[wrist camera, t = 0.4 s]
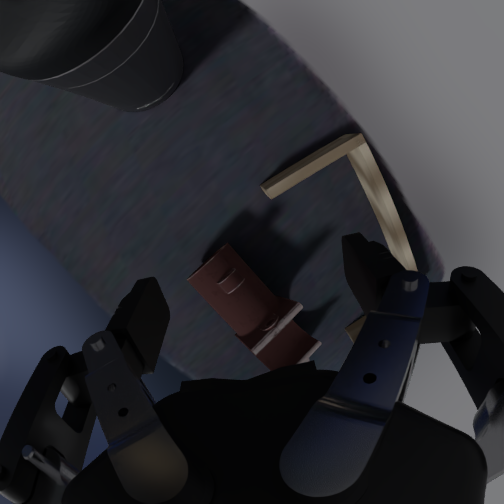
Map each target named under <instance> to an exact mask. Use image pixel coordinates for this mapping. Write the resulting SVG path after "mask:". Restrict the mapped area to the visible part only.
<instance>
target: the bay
mask: <svg viewBox="0 0 504 504" xmlns="http://www.w3.org/2000/svg"><path fill="white" fill-rule="evenodd" d="M345 154H347V156H348V158H349V160H350V162H351V164H352V166H353V168H354V170H355V172H356V174H357V176H358V178H359V180H360V182H361V184H362V186H363V188H364V191H365V193H366V195H367V197H368V199H369V201H370V204H371V206H372V208H373V210H374V213H375V215H376V217H377V219H378V222H379V224H380V226H381V229H382V231H383V234H384V236H385V239H386V241H387V244H388V246H389V249H390V251H391V254H392V255H393V256H394V257H395V258H396V259H397V260H398V261H399V262H400V263H401V264H402V265H403V266H404V267H405V269H406V270H414V271H418V270H417V267H416V264H415V261H414V258H413V255H412V252H411V249H410V246H409V243H408V240H407V237H406V234H405V231H404V229H403V226H402V223H401V221H400V218H399V215H398V213H397V210H396V208H395V205H394V203H393V200H392V198H391V196H390V193H389V191H388V188H387V186H386V184H385V182H384V179H383V177H382V175H381V173H380V170H379V168H378V166H377V164H376V162H375V160H374V157H373V155H372V153H371V151H370V149H369V147H368V145H367V143H366V141H365V139H364V137H363V135H362V133H358V134H345V135H343V136H341V137H340V138H338V139H336V140H334V141H333V142H331V143H329V144H327V145H326V146H324V147H322V148H320V149H319V150H317V151H315V152H314V153H312V154H310V155H309V156H307V157H305V158H304V159H302V160H300V161H299V162H297V163H295V164H294V165H292V166H290V167H289V168H287V169H285V170H284V171H282V172H280V173H279V174H277V175H275V176H274V177H272V178H271V179H269V180H267V181H266V182H264V183H263V184H261V185H260V186H261V188H262V189H263V191H264V193H265V194H266V195H267V196H268V197H269V198H270V199H273V198H275V197H276V196H278V195H279V194H281V193H283V192H284V191H286V190H287V189H289V188H291V187H292V186H294V185H296V184H297V183H299V182H300V181H302V180H304V179H305V178H307V177H309V176H310V175H312V174H314V173H315V172H317V171H318V170H320V169H322V168H323V167H325V166H327V165H328V164H330V163H332V162H333V161H335V160H337V159H338V158H340V157H342V156H344V155H345ZM366 318H367V317H366V315H365V316H363V317H362V318H360V319H359V320H357V321H356V322H354V323H353V324H351V325H350V326H348V327H346V328H345V330H346V332H347V334H348V335H349V337H350V338H351V340H352V341H353V343H354V342H355V340H356V338H357V336H358V334H359V332H360V330H361V328H362V326H363V324H364V322H365V320H366Z"/></svg>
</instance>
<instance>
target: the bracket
mask: <svg viewBox="0 0 504 504" xmlns="http://www.w3.org/2000/svg"><path fill="white" fill-rule="evenodd" d="M187 280H188V281H189V283H190V284H191V285H192V286H193V287H194V288H195V289H196V290H197V291H198V292H199V293H200V295H201V296H202V297H203V298H204V299H205V300H206V301H207V302H208V303H209V304H210V305H211V306H212V307H213V308H214V310H215V311H216V312H217V313H218V314H219V315H220V316H221V317H222V318H223V319H224V320H225V321H226V322H227V323H228V324H229V325H230V326H231V327H232V328H233V329H234V330H235V331H236V332H237V333H236V334H235V336H236V337H237V338H238V339H239V340H240V341H241V342H242V343H243V344H244V345H245V346H246V347H247V348H248V349H249V350H250V351H251V352H252V353H253V354H254V355H255V356H256V357H257V358H258V359H259V360H260V361H261V362H262V363H263V364H264V365H266V366H267V367H268V368H269V369H270V370H271V371H272V370H275V369H277V368H280V367H284V366H289V365H294V364H299V363H304V362H308V361H310V360H309V357H310V356H311V355H312V354H313V353H314V352H315V351H316V349H317V348H318V347H319V346H320V345H321V344H322V343H321V342H320V341H318V340H316V339H314V338H313V337H311V336H310V335H309V334H307V333H306V332H305V331H304V330H302V329H301V328H300V327H299V326H298V325H297V324H296V323H295V322H294V321H293V320H292V319H293V318H294V317H295V316H296V315H297V314H298V313H299V312H300V310H301V309H302V308H303V306H302V305H301V304H300V303H299V302H296V301H293V300H290V299H286V298H283V297H280V296H275V295H274V294H273V293H272V292H271V291H270V290H269V289H268V287H267V286H266V285H265V284H264V283H263V282H262V281H261V280H260V279H259V277H258V276H257V275H256V274H255V273H254V272H253V271H252V270H251V268H250V267H249V266H248V265H247V264H246V263H245V262H244V261H243V259H242V258H241V257H240V256H239V255H238V254H237V253H236V252H235V250H234V249H233V248H232V247H231V246H230V245H229V244H228V243H226V244H225V245H224V246H222V247H221V248H220V249H219V250H218V251H216V252H215V253H214V254H213V255H212V256H211V257H210V258H208V259H207V260H206V261H205V262H204V263H203V264H202V265H201V266H200V267H199V268H198V269H197V270H195V271H194V272H193V273H192V274H191V275H190V276H189V278H188V279H187Z"/></svg>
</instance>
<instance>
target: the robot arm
mask: <svg viewBox="0 0 504 504" xmlns="http://www.w3.org/2000/svg"><path fill="white" fill-rule="evenodd" d="M183 66H184V63H183V56H182V54H181V51H180V48H179V46H178V43H177V40H176V37H175V35H174V32H173V29H172V27H171V24H170V22H169V19H168V17H167V14H166V11H165V9H164V6H163V4H162V1H161V0H0V71H1V72H3V73H5V74H8V75H12V76H15V77H19V78H23V79H28V80H31V81H35V82H38V83H42V84H45V85H49V86H52V87H55V88H59V89H62V90H65V91H69V92H72V93H75V94H78V95H81V96H84V97H86V98H89V99H92V100H95V101H98V102H101V103H103V104H106V105H109V106H111V107H114V108H117V109H120V110H123V111H127V112H139V111H145V110H148V109H151V108H154V107H155V106H157V105H159V104H161V103H162V102H163V101H165V100H166V99H167V98H168V97H169V96H170V95H171V94H172V93H173V92H174V91H175V89H176V88H177V86H178V84H179V82H180V80H181V77H182V74H183ZM342 250H343V260H344V271H345V276H346V280H347V283H348V285H349V286H350V288H351V290H352V292H353V293H354V295H355V297H356V299H357V301H358V302H359V304H360V306H361V308H362V310H363V311H364V313H365V315H366V317H367V318H366V320H365V322H364V324H363V326H362V328H361V330H360V332H359V334H358V336H357V338H356V340H355V342H354V344H353V346H352V348H351V350H350V352H349V354H348V355H347V357H346V359H345V361H344V363H343V365H342V367H341V368H340V370H339V372H338V371H332V370H316V366H315V362H314V360H313V361H308V362H304V363H299V364H294V365H289V366H284V367H280V368H277V369H275V370H272V371H270V372H267V373H264V374H262V375H259V376H256V377H254V378H251V379H248V380H230V379H216V378H209V379H201V380H191V381H182V382H181V387H180V391H179V392H176V393H174V394H171V395H169V396H167V397H165V398H163V399H162V400H160V401H158V402H157V403H156V401H155V400H154V398H153V397H152V395H151V393H150V392H149V390H148V389H147V387H146V385H145V384H144V383H143V381H142V379H141V375H142V374H152V373H154V370H155V366H156V363H157V359H158V356H159V353H160V349H161V346H162V343H163V339H164V336H165V333H166V330H167V327H168V323H169V320H170V311H169V307H168V305H167V302H166V300H165V298H164V295H163V293H162V291H161V288H160V286H159V284H158V281H157V280H156V278H155V277H149V278H144V279H140V280H137V281H136V283H135V285H134V287H133V288H132V290H131V292H130V293H129V294H128V295H126V296H125V297H124V298H123V299H122V301H121V302H120V304H119V306H118V308H117V309H116V311H115V314H114V315H113V316H112V318H111V320H110V322H109V324H108V326H107V328H106V330H105V331H100V332H97V333H95V334H93V335H92V336H90V337H89V338H88V339H87V340H86V341H85V342H84V344H83V346H82V351H80V352H78V353H74V354H72V355H70V354H69V353H68V352H67V350H66V349H65V348H64V347H63V346H57V347H54V348H52V349H50V350H49V351H47V352H46V353H45V354H44V355H43V357H42V358H41V360H40V362H39V363H38V365H37V367H36V369H35V370H34V372H33V374H32V376H31V378H30V380H29V381H28V383H27V385H26V387H25V389H24V391H23V393H22V395H21V397H20V399H19V401H18V403H17V405H16V407H15V409H14V411H13V413H12V415H11V417H10V419H9V422H8V424H7V426H6V428H5V431H4V433H3V435H2V438H1V440H0V494H1V495H3V496H4V497H6V498H7V499H9V500H10V501H11V502H12V503H13V504H484V497H485V489H486V484H487V483H489V482H490V481H492V480H494V479H496V478H497V477H499V476H500V475H502V474H503V473H504V293H503V292H502V291H501V289H500V288H498V286H497V285H496V284H495V283H494V282H492V281H491V280H490V279H489V278H488V277H487V276H486V275H485V274H484V273H483V272H482V271H480V270H479V269H476V268H474V267H468V266H463V267H458V268H456V269H454V270H453V271H452V273H451V277H450V281H447V282H430V281H429V279H428V277H427V276H426V275H425V274H423V273H421V272H418V271H414V270H406V269H405V267H404V266H403V265H402V264H401V263H400V262H399V261H398V260H397V259H396V258H395V257H394V256H393V255H392V254H391V253H390V252H389V251H388V249H387V248H386V247H385V246H384V245H382V244H380V243H377V242H375V241H371V242H368V241H367V240H366V238H365V237H364V236H363V235H362V234H361V233H360V232H358V233H354V234H349V235H345V236H342ZM475 327H477V328H478V330H479V331H480V334H481V335H480V334H479V332H478V331H477V329H476V328H475ZM438 342H441V344H442V345H443V347H444V349H445V350H446V352H447V354H448V355H449V357H450V359H451V360H452V363H453V364H454V366H455V368H456V369H457V371H458V373H459V375H460V377H461V378H462V380H463V382H464V384H465V386H466V388H467V390H468V392H469V394H470V396H471V397H472V399H473V401H474V403H475V405H476V407H477V410H478V411H477V413H476V414H475V417H474V420H473V428H474V432H475V440H474V439H473V438H472V437H470V436H469V435H467V434H466V433H464V432H462V431H460V430H458V429H455V428H453V427H451V426H449V425H447V424H445V423H443V422H441V421H438V420H436V419H434V418H432V417H430V416H428V415H426V414H424V413H422V412H420V411H418V410H416V409H414V408H412V407H410V406H408V405H406V404H404V403H403V402H404V399H405V396H406V392H407V389H408V386H409V382H410V379H411V376H412V373H413V369H414V366H415V363H416V359H417V355H418V352H419V348H420V344H425V343H438ZM60 391H61V392H62V394H63V395H64V396H65V397H66V398H67V399H68V404H67V407H66V409H65V411H64V414H63V417H62V418H61V417H60V416H59V415H58V414H57V412H56V410H55V402H56V399H57V397H58V394H59V392H60ZM96 416H98V419H99V422H100V425H101V427H102V430H103V432H104V435H105V437H106V439H107V442H108V448H107V449H106V450H105V451H103V452H102V453H101V454H100V455H99V456H98V457H97V458H96V459H95V460H94V461H92V462H91V463H90V464H89V465H88V466H87V467H86V468H84V469H83V470H82V467H83V463H84V459H85V455H86V451H87V448H88V444H89V440H90V437H91V433H92V430H93V426H94V423H95V419H96Z"/></svg>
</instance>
